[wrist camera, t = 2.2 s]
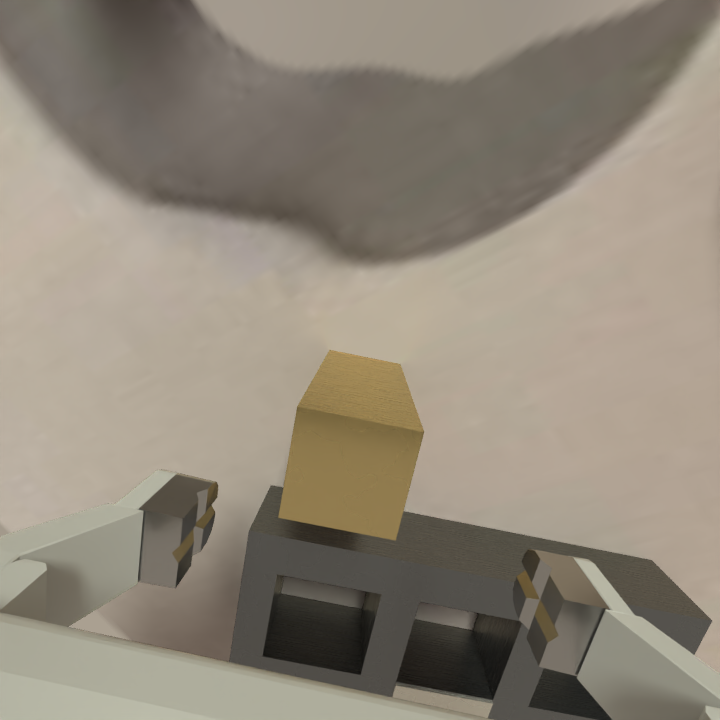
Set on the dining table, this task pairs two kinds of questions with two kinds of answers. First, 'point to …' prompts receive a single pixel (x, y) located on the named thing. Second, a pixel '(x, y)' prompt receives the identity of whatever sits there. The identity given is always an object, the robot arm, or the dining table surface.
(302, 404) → the brass peg
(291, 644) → the grey peg holder
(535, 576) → the robot arm
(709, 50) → the dining table surface
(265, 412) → the dining table surface
